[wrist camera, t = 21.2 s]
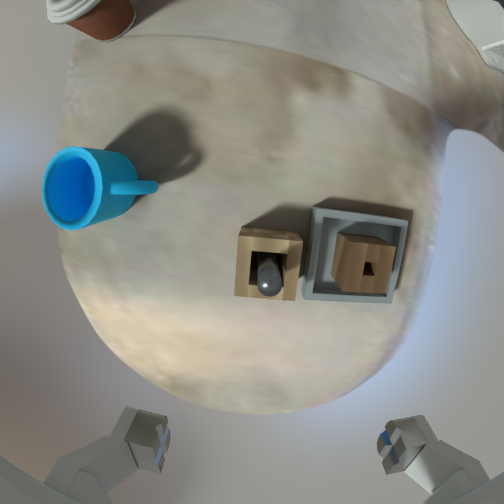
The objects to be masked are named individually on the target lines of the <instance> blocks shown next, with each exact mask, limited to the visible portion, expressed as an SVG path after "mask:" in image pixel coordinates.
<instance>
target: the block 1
mask: <svg viewBox="0 0 504 504" xmlns="http://www.w3.org/2000/svg"><path fill="white" fill-rule="evenodd" d="M302 247H303V241H302V239H301V238H300V236H299V235H298V233H297V232H294V231H284V230H273V229H262V228H250V227H241V230H240V233H239V237H238V250H237V264H236V278H235V292H234V296H242V297H253V298H265V299H278V300H292V301H295V297H296V290H297V283H298V276H299V269H300V262H301V255H302ZM252 251H261V252H273V253H282V258H281V267H280V271H279V272H280V276H281V281H282V289H281V291H280V292H279V293H278V294H277V295H275V296H272V297H267V296H264V295H262V294H261V293H260V292H259V290H258V269H250V264H251V252H252Z"/></svg>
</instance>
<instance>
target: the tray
mask: <svg viewBox="0 0 504 504" xmlns="http://www.w3.org/2000/svg"><path fill="white" fill-rule="evenodd" d="M407 226H408V221H407V220H404V219H401V218H396V217H389V216H383V215H376V214H369V213H362V212H355V211H348V210H340V209H332V208H324V207H316V206H313V208H312V217H311V225H310V233H309V241H308V249H307V256H306V263H305V270H304V277H303V284H302V290H301V292H302V295H303V298H304V299H306V300H322V301H341V302H364V303H391V302H392V298H393V294H394V290H395V286H396V282H397V278H398V273H399V269H400V264H401V259H402V254H403V249H404V244H405V238H406V232H407ZM337 232H342V233H351V234H360V235H368V236H376V237H379V238H381V239H383V240H384V241H386V242H388V243H390V244H392V245H394V246H395V247H396V249H395V254H394V260H393V264H392V269H391V274H390V278H389V283H388V287H387V291H386V294H384V293H363V292H345V291H342V290H341V289H340V287H339V286H338V285H337V283H336V282H335V280H334V279H333V278H332V276H331V269H332V263H333V257H334V251H335V244H336V237H337Z"/></svg>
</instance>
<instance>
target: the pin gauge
mask: <svg viewBox="0 0 504 504" xmlns="http://www.w3.org/2000/svg"><path fill="white" fill-rule="evenodd" d="M281 289H282V281H281V276H280V272H279V267H278V262H277V258H276V254H275V253H273V252H261V251H259V253H258V290H259V292H260V293H261V294H262V295H264V296H267V297H272V296H275V295H277V294H278V293H279V292H280V291H281Z"/></svg>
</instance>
